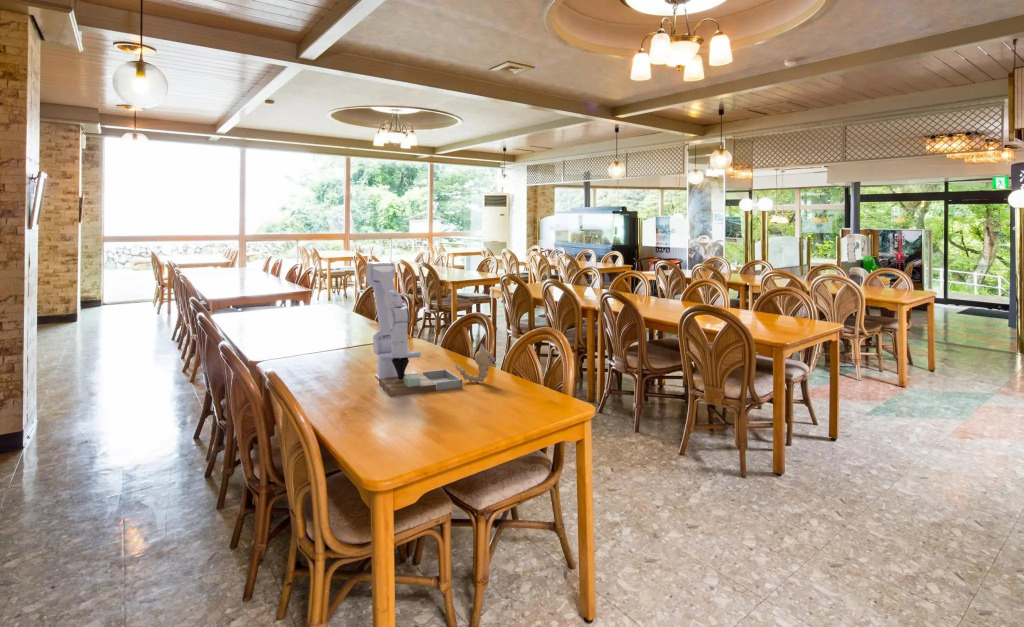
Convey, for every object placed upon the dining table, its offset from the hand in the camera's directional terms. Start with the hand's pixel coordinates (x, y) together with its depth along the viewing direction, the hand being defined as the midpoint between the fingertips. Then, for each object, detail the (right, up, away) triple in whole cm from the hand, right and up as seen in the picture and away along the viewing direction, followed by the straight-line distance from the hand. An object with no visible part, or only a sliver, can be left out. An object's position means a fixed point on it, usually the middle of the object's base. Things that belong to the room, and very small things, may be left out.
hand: (400, 378), depth 207 cm
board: (+2, -3, -1) cm, 4 cm away
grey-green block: (+5, -1, -5) cm, 7 cm away
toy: (+26, -2, +7) cm, 27 cm away
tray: (+14, -2, +5) cm, 15 cm away
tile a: (+3, 0, +1) cm, 4 cm away
